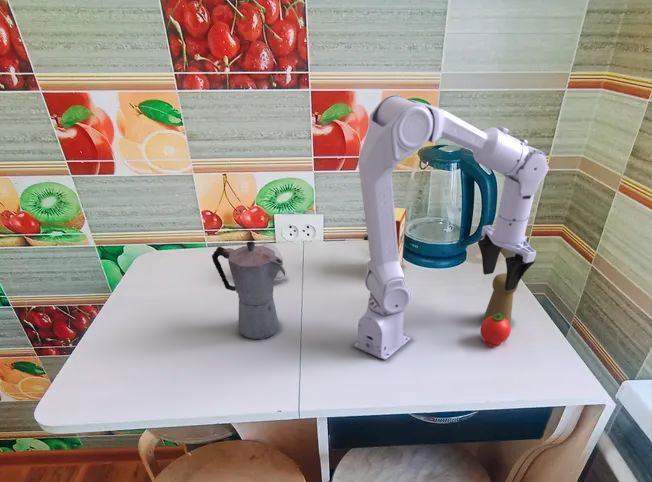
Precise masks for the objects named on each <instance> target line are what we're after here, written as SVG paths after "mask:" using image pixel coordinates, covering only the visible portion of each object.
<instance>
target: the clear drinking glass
mask: <svg viewBox="0 0 652 482" xmlns="http://www.w3.org/2000/svg"><path fill="white" fill-rule="evenodd" d="M260 246H264V247H266V248H269V249H271V250H273V251H275V256H276V257H278V258H280V259H281V260H282V261H283V262H284V259H283V256H282V252H280V250H279V249H278V248H277V246H276V245H274V244H272V243H270V242H265V243H263V244H261V245H260ZM278 272H281V273H282V275H283V277H282V278H277V279H276V278H275V280H274V285H279V284H282V283H284V282H285V281H286V279H287V270H286V269H285V267H284V264H283V265H281V266H280V268H279V270H278Z"/></svg>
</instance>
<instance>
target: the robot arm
mask: <svg viewBox="0 0 652 482" xmlns="http://www.w3.org/2000/svg"><path fill="white" fill-rule="evenodd" d="M368 118H369V119H368V128H367V131H366V135H365V137H364V140H363V143H362V147H361V150H360V152H359V156H358V162H357V163H358V173H359V180H360V186H361V196H362V202H363V204H362V205H363V210H364V217H365V225H366V232H367V233H366V235H367V242H368V249H369V257H370V260H368V261H367V263H366V265H367V271H366V275H365V278H364V285H365V288H366V289H367V291H369V298H368V302H367V303H368V304H367V308H366V311H365V312H364V314H363V315H362V316H361V317H360V318H359V320H358V321H357V322H358V323H357V342H356V343H354V348H356V349H358V350H361V351H364V352H365V353H368V354H370V355H372V356H374V357H377V358H379V359H382V361H383V360H384V361H386V360H388V359H389V358H390V357H391V356H392V355H394V354H395V353H396V352H397V351H399V350H400V349H401V348H402V347H403V346H404V345H406V344H407V343H408V342H409V341H411V337H409V336H407V335H405V334H403V331H404V317H405V309H406V308H407V307H408V305H409V304H410V302H411V298H412V293H411V290H410V288H409V287H408V286H407V284H406V276H405V274H404V270H403V267H402V268H401V265H400V263H399V256H398V244H397V232H396V221H395V209H394V207H395V198H394V186H393V172H394V170H395V169H396V168H397V167H398V166H399V164H400V163H402V162H403V161H404V160H406V159H407V158H408V157H410V156H412V155H413V154H415V153H416V152H417V151H419V150H420V149H421V148H423V147H424V146H425V145H426V144H427V143H428V142H430V143H435V142H437V141H438V140H439V139H440V138H443V139H445V140H448V141H450V142H452V143H455V144H456V145H459V146H461V147H464V148H465V149H468V150H471V151H472V153H473V154H472V155H473V159H474V161H475V162H476V163H477V164H479V165H481V166H483V167H486V168H487V169H489V170H492V171H494V172H496V173H499V174H500V175H503V176H504V182H503V187H502V192H501V195H500V196H501V197H500V201H499V207H498V212H497V217H496V220H495V221H496V223H495V226H494V225H492V224H488V225H483V226H482V228H481V233H480V235H481V236H482V237H483V239H479V240H478V241H477V245H478V248H479V250H480V255H481V261H482V273H483V275H485V276H486V275H491V274H494V272H495V269H496V266H497V264H498V263H497V262H498V259H499V256H500V253H501V252H502V249H505V250H507V251H509V252H511V253H512V254H514V256H509V257H505V267H506V274H507V276H506V282H505V290H507V291H509V290H513V289H515V288H516V286H517V284H518V285H519V283H520V281H521V279H522V277H524V275H525V274H526V273H527V271H528V270H529V269H530V268H531V267H532V266H533V265H534V264H535V263H536V256H537V250H534V249H533V248H532V247H531V245H530V244H529V243H528V241H527V239H528V236H526V232H527V227H528V223H529V220H530V214H531V211H532V206H533V203H534V199H535V194H536V193H537V192H538V189H539V186H540V184H541V182H542V181H543V180H544V178H545V177H546V176H547V174H548V172H549V170H550V167H549V165H548V160H547V159H548V158H547V157H546V153H545V152H544V151H542V150H540V149H538V148H535V147H534V146H533V147H532V146H531V145H528V143H529V141H528V140H526V139H525V138H519V139H518V138H515V137H513V136H512V135H510V134H509V132H510V130H509V129H508V128H506V127H503V126H502V125H498V127H494V126H491V127H489V128H486V129H484V130H480V129H478V128H477V127H475V126H473V125H472V124H470V123H468V122H466V121H464V120H463V119H461V118H459V117H458V116H455V114H452V113H450V112H449V111H446V110H445V109H442V108H440V107H437V106H434V105H431V104H428V103H424V102H422V101H419V100H413V99H406V98H405V97H404V96H402V95H401V94H400V95H399V94H389V95H387V96H386V97H384V98H383V99H381V101H380V102H379V103H378V104H377V106H376V107H375V108H374V109H373V110H372V112H371V113H370V114H369V117H368Z"/></svg>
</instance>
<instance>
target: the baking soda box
mask: <svg viewBox="0 0 652 482" xmlns="http://www.w3.org/2000/svg"><path fill="white" fill-rule="evenodd" d="M394 209H395V221H396V232H397V244H398V256H399V263H400V265H401V268H402V269H403V263H404V262H403V261H404V260H403V259H404V249H405V248H404V245H405V233H406V218H407V207H399V206H394Z"/></svg>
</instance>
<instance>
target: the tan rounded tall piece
mask: <svg viewBox="0 0 652 482" xmlns="http://www.w3.org/2000/svg"><path fill="white" fill-rule="evenodd" d="M506 276H507V272H506V273H504V272H503V273H499V274H497V275H496V276H495V277H494V278H493V279H492V284H491V285H492V289H493V291H492V293H491V296H490V299H489V302H488V303H487V307H486V309H485V312H484V314H483V318H482V322H483V321H484V320H485V319H486V318H488V317H490V316H493V315H494V314H498V313H500V314H501V315H502V316H504V318H506V319H507V320H508V322H509V324H510V325H511V323H512V313H513V302H514V301H513V300H514V293H515V292H516V291H517V290H518V287H519V283H518V284H517V286H516V288H515V289H513V290H509V291H507V290H505V282H506Z"/></svg>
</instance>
